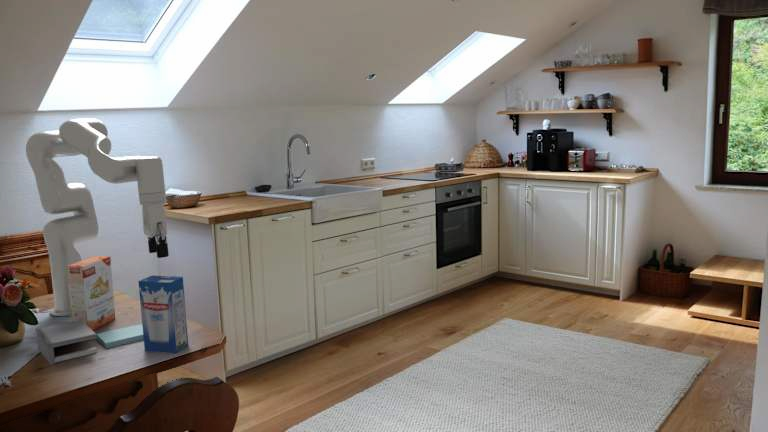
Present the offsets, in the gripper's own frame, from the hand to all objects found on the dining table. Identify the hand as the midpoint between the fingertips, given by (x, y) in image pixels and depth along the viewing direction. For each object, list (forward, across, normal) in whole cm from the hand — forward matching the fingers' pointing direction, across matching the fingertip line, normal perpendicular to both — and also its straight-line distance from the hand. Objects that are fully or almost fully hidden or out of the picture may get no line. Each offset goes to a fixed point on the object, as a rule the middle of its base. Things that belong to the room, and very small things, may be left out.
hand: (158, 254), depth 198 cm
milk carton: (+24, +18, -5) cm, 30 cm away
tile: (+23, +2, -11) cm, 26 cm away
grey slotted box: (+22, +3, -28) cm, 36 cm away
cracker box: (+22, -16, -18) cm, 33 cm away
